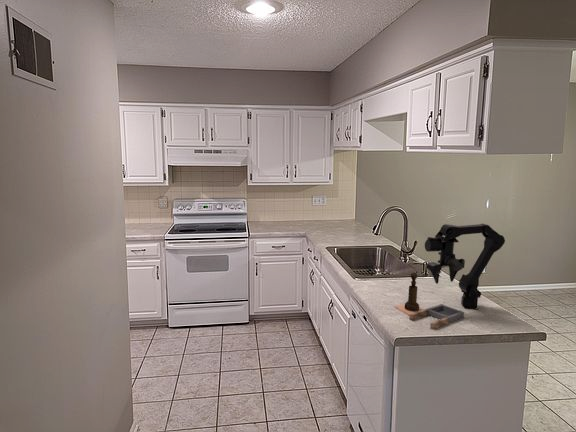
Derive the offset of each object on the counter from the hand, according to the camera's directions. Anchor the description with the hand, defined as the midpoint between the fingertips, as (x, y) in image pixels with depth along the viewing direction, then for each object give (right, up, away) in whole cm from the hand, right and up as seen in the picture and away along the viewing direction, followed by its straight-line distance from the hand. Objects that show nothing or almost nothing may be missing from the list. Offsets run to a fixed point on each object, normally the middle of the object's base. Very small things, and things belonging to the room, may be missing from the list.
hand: (444, 282), depth 201 cm
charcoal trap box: (-3, -14, -7) cm, 16 cm away
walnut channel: (-12, -15, -14) cm, 24 cm away
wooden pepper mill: (-16, -13, -1) cm, 21 cm away
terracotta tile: (-16, -13, -1) cm, 21 cm away
